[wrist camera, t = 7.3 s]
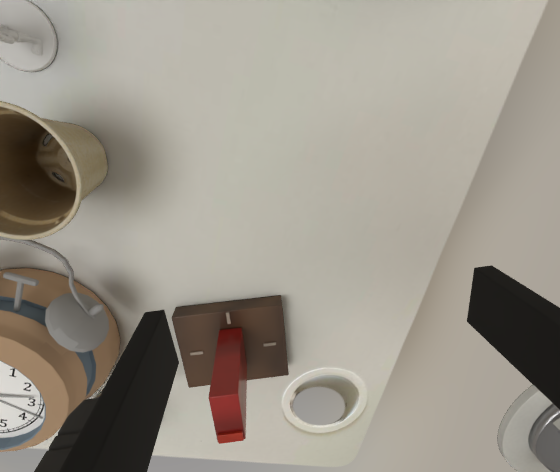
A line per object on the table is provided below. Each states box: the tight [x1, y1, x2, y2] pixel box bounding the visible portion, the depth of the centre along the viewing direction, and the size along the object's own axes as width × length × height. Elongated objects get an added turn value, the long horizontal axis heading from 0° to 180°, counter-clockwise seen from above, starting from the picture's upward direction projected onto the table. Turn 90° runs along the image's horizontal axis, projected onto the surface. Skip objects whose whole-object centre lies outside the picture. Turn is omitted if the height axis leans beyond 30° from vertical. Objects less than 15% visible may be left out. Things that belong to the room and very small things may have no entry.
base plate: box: [172, 296, 289, 387], centre depth 37 cm, size 12×10×2 cm
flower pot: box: [0, 101, 108, 240], centre depth 25 cm, size 9×9×9 cm
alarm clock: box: [0, 236, 120, 452], centre depth 30 cm, size 17×9×23 cm
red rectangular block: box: [209, 328, 247, 444], centre depth 31 cm, size 6×2×9 cm, turn 4°
